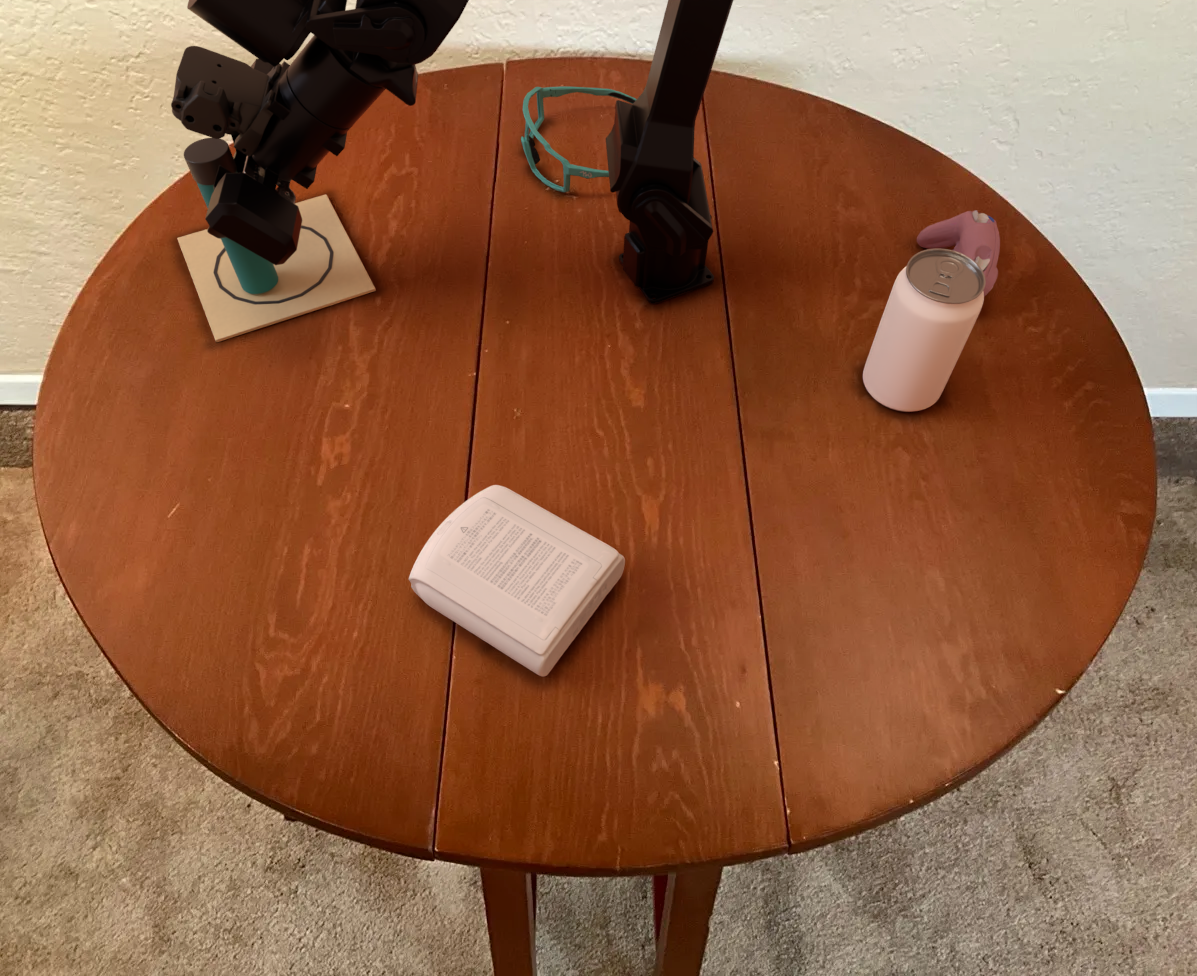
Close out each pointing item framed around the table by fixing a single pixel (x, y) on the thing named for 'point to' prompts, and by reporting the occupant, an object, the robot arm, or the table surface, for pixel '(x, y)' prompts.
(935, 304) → the can
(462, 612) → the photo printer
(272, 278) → the water bottle
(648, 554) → the table surface
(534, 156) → the sunglasses
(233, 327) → the sketch sheet
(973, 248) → the video game controller
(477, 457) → the table surface
